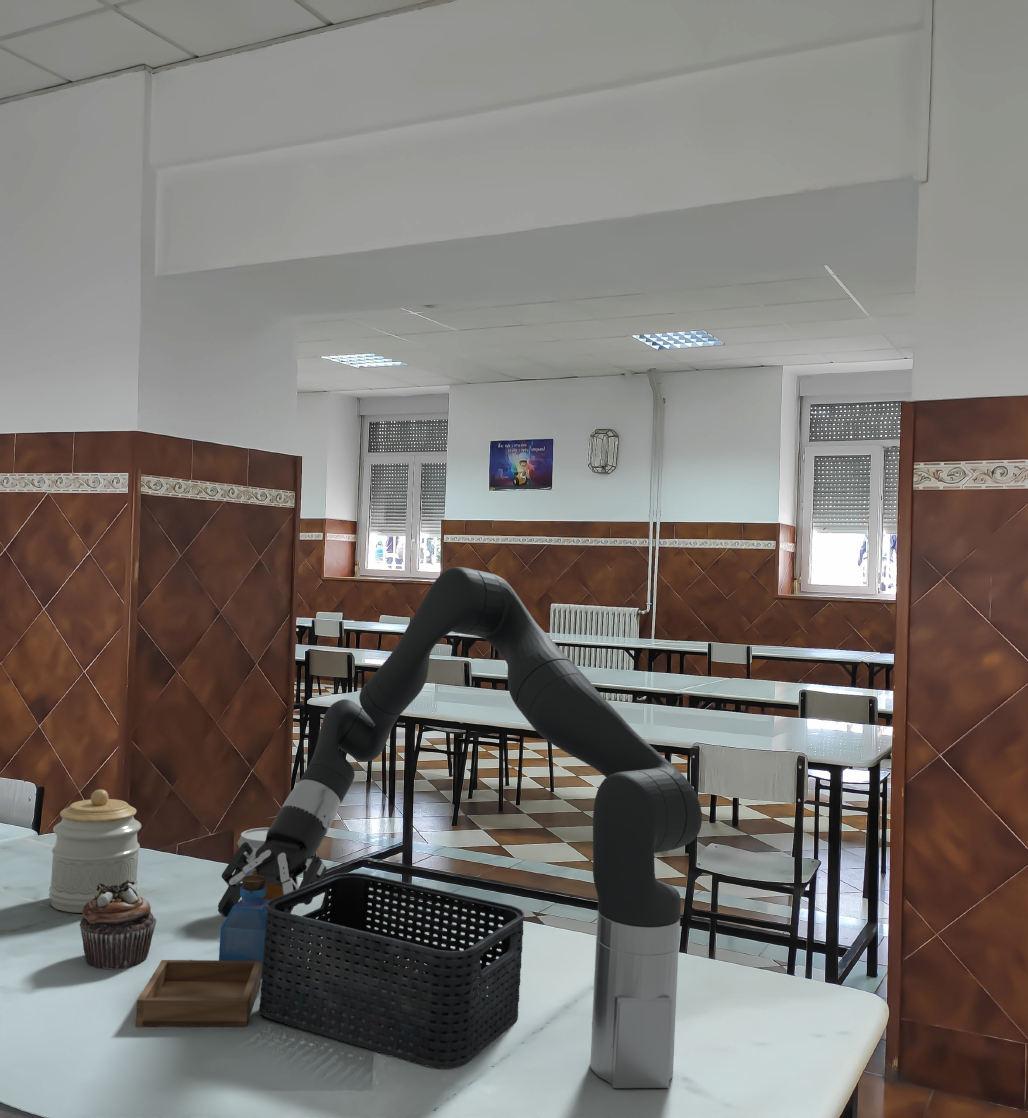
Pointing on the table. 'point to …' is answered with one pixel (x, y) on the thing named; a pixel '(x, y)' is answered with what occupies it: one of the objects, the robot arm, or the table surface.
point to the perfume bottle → (246, 924)
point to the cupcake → (117, 927)
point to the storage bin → (393, 968)
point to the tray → (200, 994)
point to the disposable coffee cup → (256, 841)
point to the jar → (93, 850)
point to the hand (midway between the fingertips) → (247, 921)
